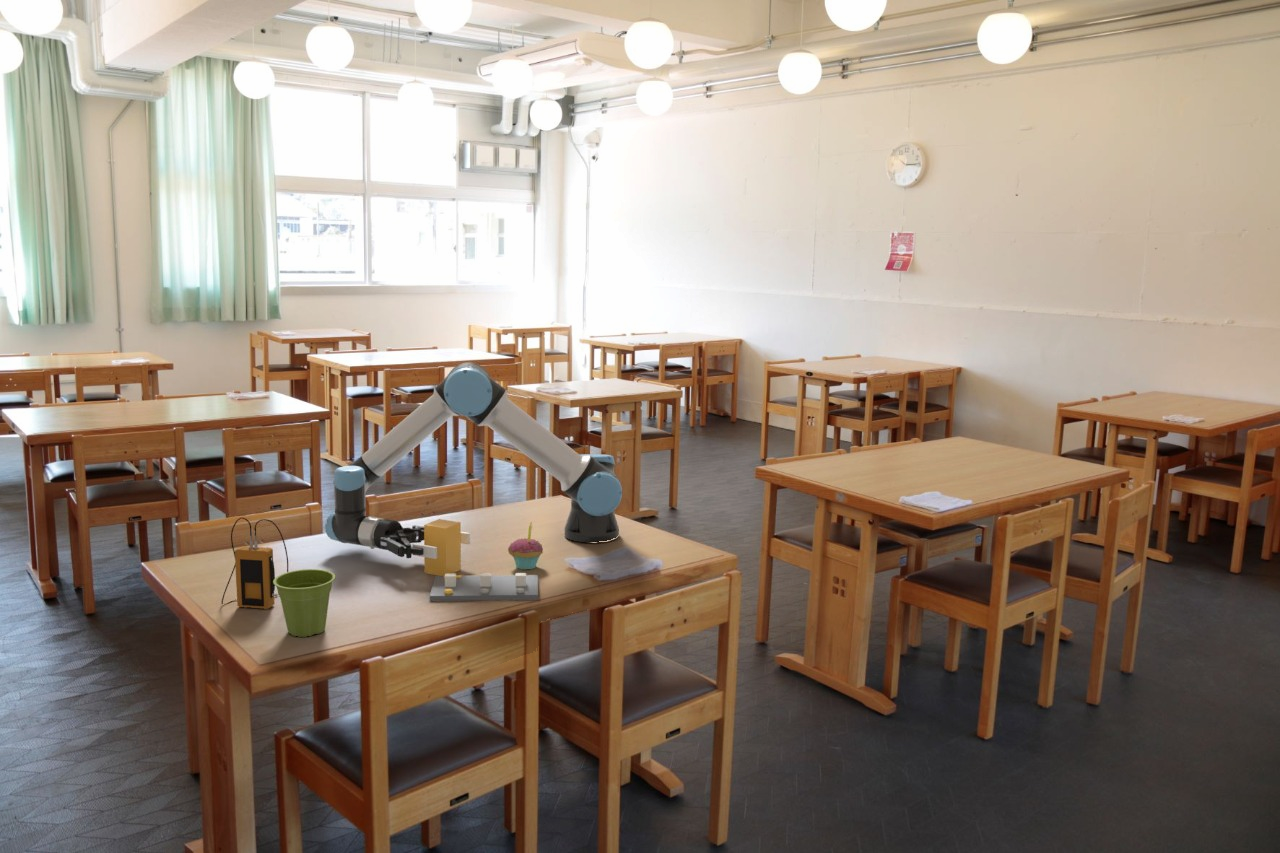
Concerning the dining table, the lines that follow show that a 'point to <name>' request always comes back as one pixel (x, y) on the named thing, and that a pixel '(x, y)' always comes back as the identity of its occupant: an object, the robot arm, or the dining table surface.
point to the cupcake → (526, 551)
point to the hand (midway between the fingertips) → (453, 545)
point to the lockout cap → (443, 546)
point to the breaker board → (485, 587)
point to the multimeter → (254, 573)
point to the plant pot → (305, 600)
